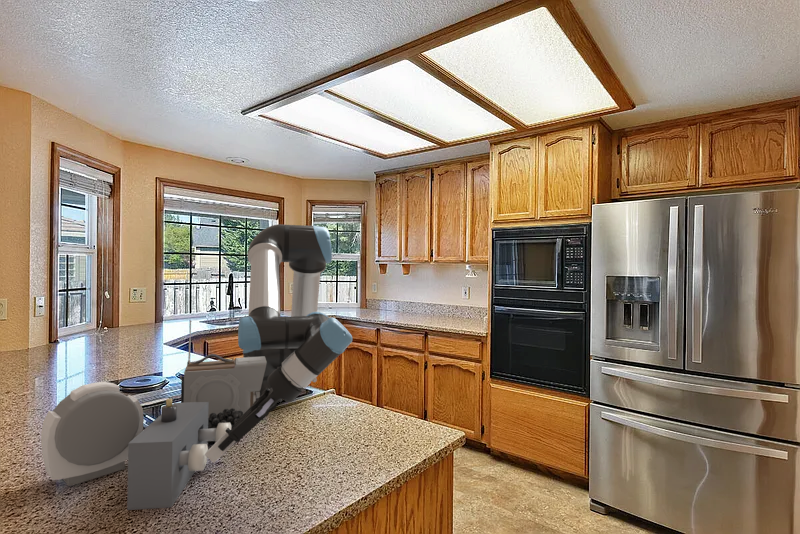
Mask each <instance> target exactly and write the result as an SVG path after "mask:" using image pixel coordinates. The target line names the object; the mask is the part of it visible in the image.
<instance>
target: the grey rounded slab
mask: <svg viewBox="0 0 800 534" xmlns="http://www.w3.org/2000/svg"><path fill="white" fill-rule="evenodd" d="M142 406H143V405H141V403H140V401H139V399H137V398H135V397H134V396H132V395H130V394H128V395H125V394H124V393H122V392H120V386H119V385H117V384H116V383H113V382H109V381H99V382H91V383H87V384H82V385H81V386H79V387H77V388H74V389H73V390H71V391H70V393H69V394H68V395H67V396H65V397H64V398H63V399H62V400H61V401H59V402H58V404H57V405H56V406H55V407H54V408H53V410H52V411H51V410H48V412H47V413H46V415H45V417H44V419H43V422H42V426H41V430H40V431H41V433H40V445H41V446H40V447H41V454H42V461H43V465H44V469H45V472H46V474H47V475H48V476H49V478H50V479H51V481H58V480H63V481H64V483H65V484H66V485H67V486H68V487H71V486H72V487H73V486H74V485H77V484H82V483H85V482H87V481H91V480H94V479H96V478H100V477H103V476H106V475H109V474H113V473H117V472H119V471H122V470H125V469H126V461H128V443H129V442H130V441H132V440H133V439H134V438H135V437H136V436H137V435H138V434H140V433H141V432H142V431H143V430H144V419H145V417H144V411H143V407H142Z"/></svg>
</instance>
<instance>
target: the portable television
mask: <svg viewBox="0 0 800 534" xmlns="http://www.w3.org/2000/svg"><path fill="white" fill-rule="evenodd" d="M191 334H192V320H191V319H190V320H189V340H188V355H187V356H188V357H187V358H188V360H187V363H186V364H187V365H186V367H185V369H184V372H183V375H180V376H179V378H180V379H179V380H181V384H180V385H181V387H180V388H181V389H180V391H181V392H180V403H186V402H209V405H208V418H209V416H210V414H211V413H216V415H218V413H220V412H222V413H223V410H224V409H229V410H230V409H231V408H234V409H235V410H237V411H242V412H243V414H244V413H245V412H246V411H247V410H248V409H249V408H250V407H251V406H252V405H253V404H254V402H255V401H256V400H257V399H258V398H259V397H260V392H257V391H260V389H261V385H262V381H263V377H264V373H265V368H266V363H267V361H266V358H265V356H261V357H244V358H243V357H235V358H234V357H232V359H231V358H230V359H228V358H225V357H224V358H223V357H222V356H220V355H218V354H215V353H211V354H208V355H206V356H204V357H203V358H201V359H199V360H195V361H191V342H192V341H191V336H192V335H191ZM210 358H216V359H218V360H213V361H210V360H209V361H205V360H207V359H210ZM255 392H256V394H255Z"/></svg>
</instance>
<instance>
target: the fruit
mask: <svg viewBox="0 0 800 534" xmlns="http://www.w3.org/2000/svg"><path fill="white" fill-rule="evenodd" d="M242 415H243V412H242V411H237V410H235V409H234V408H231V409H230V410H229V409H224V410H223V413H222V412H220V413H218V415H216V413H211V414H210V416H209V418H208V429H211V428H217V426H218V424H219V423H231V428H232V426H233V425H234V424H235V422H236V420H238V419H239V418H240V417H241V416H242ZM212 442H214V443H215V441H208V445H209V444H211V443H212Z"/></svg>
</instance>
